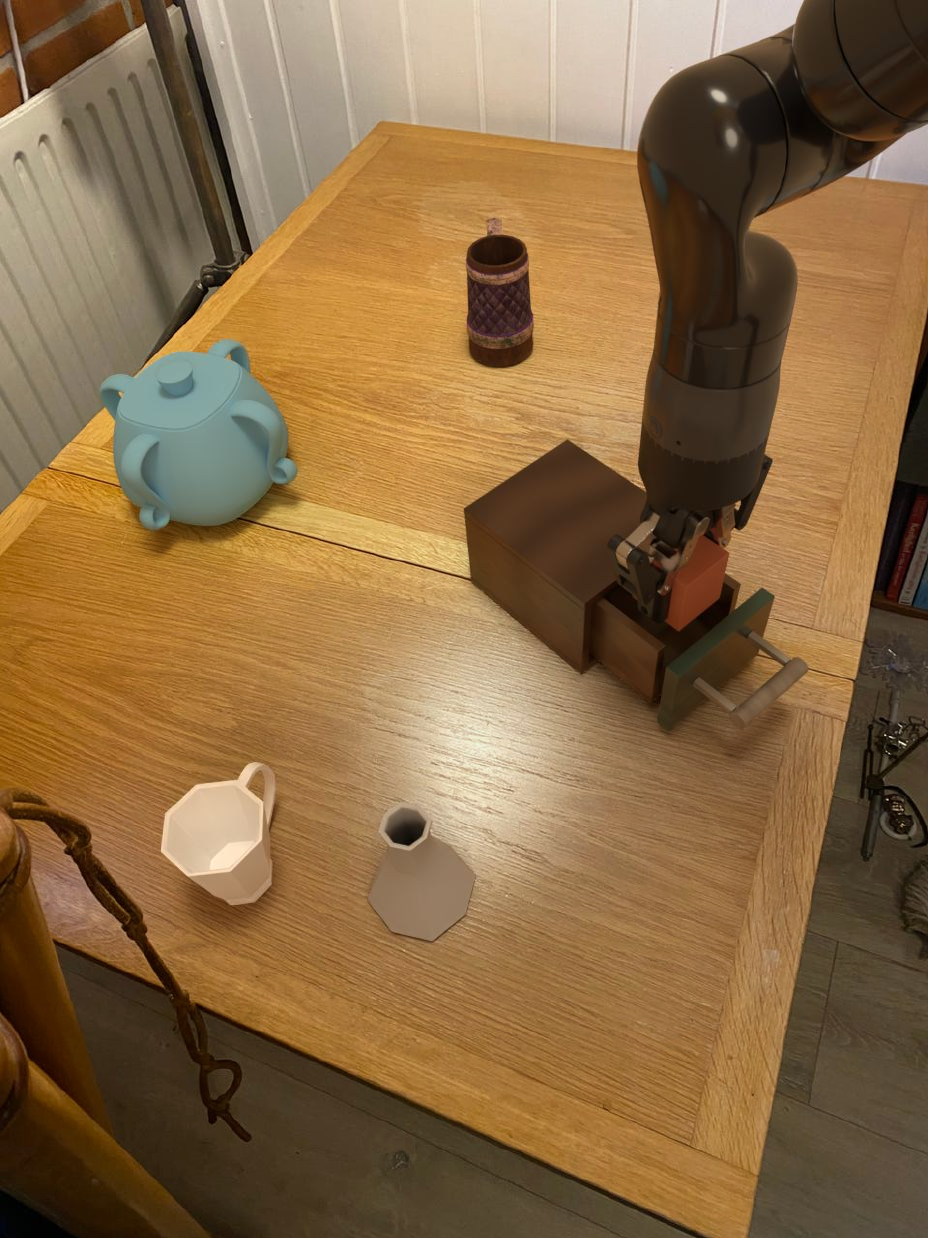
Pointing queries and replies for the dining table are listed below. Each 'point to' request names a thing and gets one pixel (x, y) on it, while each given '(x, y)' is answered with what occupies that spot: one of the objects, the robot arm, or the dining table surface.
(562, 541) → the cabinet
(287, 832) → the dining table surface
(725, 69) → the robot arm
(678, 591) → the block
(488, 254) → the mug
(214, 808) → the cup
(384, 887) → the flask
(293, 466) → the decorative pot
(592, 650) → the drawer
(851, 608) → the dining table surface
